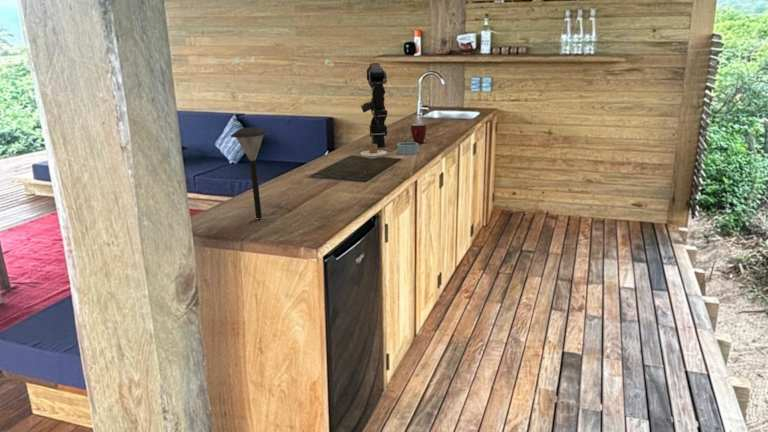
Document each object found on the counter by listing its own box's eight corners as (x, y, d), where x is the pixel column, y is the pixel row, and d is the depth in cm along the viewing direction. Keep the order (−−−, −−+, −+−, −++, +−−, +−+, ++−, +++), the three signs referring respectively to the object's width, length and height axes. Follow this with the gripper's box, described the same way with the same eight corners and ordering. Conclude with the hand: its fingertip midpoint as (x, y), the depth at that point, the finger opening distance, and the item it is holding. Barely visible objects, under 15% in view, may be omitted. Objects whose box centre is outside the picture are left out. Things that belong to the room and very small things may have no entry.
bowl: (393, 154, 295) (392, 144, 294) (408, 151, 302) (408, 141, 300) (407, 156, 288) (407, 146, 286) (422, 153, 295) (422, 143, 293)
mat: (350, 156, 296) (350, 154, 296) (374, 151, 306) (374, 149, 306) (372, 159, 285) (372, 158, 285) (396, 154, 295) (396, 153, 295)
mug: (424, 145, 316) (423, 126, 313) (409, 145, 318) (408, 126, 315) (427, 141, 325) (427, 123, 323) (413, 141, 327) (412, 123, 325)
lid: (355, 154, 296) (354, 145, 294) (374, 150, 304) (374, 141, 303) (372, 157, 287) (372, 147, 285) (392, 153, 295) (391, 143, 294)
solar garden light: (278, 222, 194) (269, 130, 185) (239, 226, 192) (228, 133, 183) (277, 212, 205) (268, 124, 197) (240, 216, 203) (229, 127, 194)
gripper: (359, 95, 295) (361, 126, 300) (363, 98, 278) (364, 132, 282) (382, 93, 296) (383, 125, 301) (386, 97, 279) (388, 130, 283)
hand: (379, 128), depth 292 cm, fingers open, 9 cm apart
